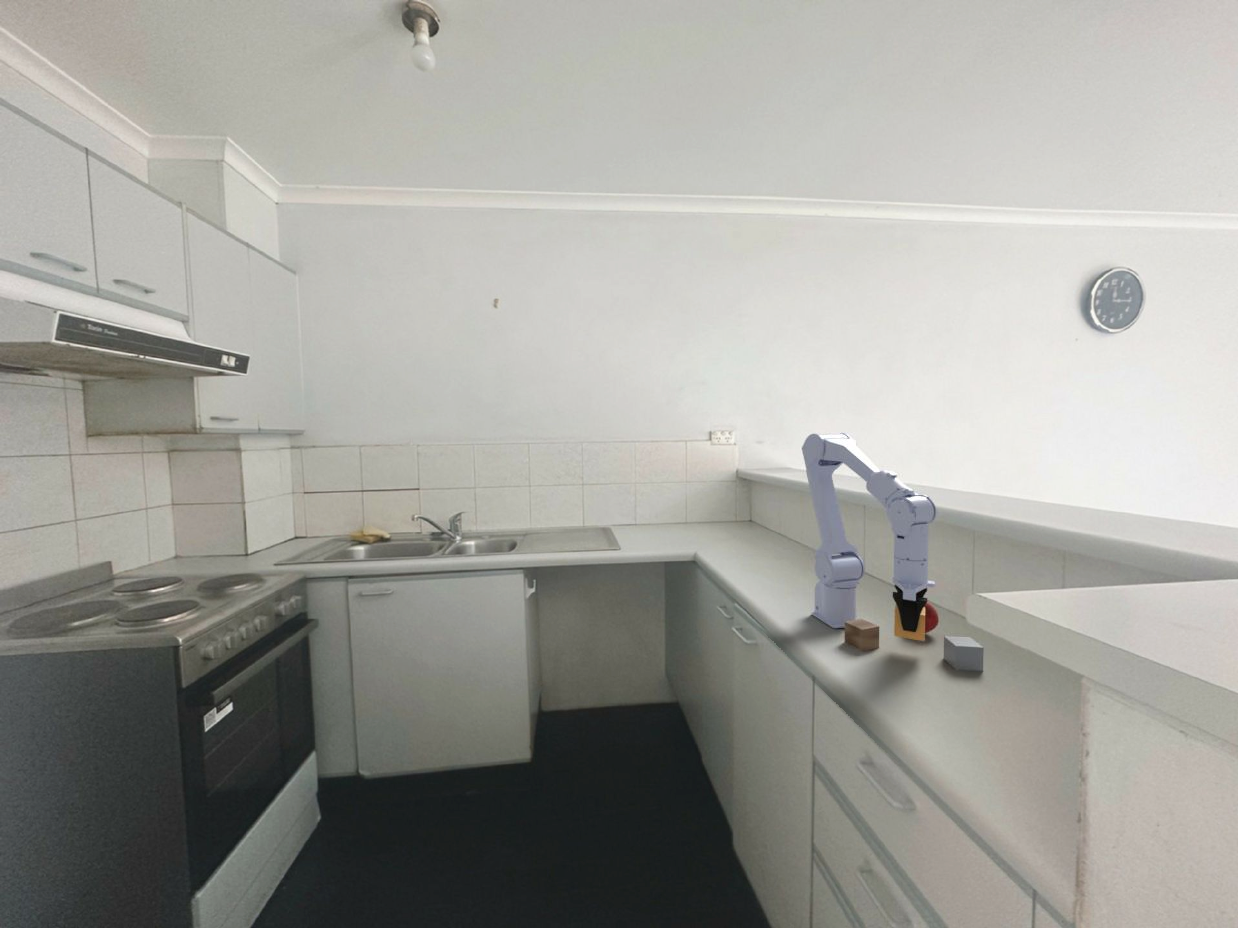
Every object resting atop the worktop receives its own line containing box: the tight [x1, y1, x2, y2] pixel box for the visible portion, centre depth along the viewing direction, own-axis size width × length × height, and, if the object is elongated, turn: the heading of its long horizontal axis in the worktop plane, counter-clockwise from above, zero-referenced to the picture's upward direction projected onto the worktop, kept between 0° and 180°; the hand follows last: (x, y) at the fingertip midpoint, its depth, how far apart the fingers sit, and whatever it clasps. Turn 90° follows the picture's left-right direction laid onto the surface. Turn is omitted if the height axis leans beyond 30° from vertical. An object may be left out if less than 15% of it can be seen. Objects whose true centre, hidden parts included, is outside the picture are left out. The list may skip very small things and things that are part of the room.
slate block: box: [943, 635, 985, 672], centre depth 89 cm, size 4×4×4 cm
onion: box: [923, 597, 939, 634], centre depth 103 cm, size 6×6×8 cm
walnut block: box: [844, 618, 880, 652], centre depth 98 cm, size 4×4×4 cm
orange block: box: [893, 603, 926, 642], centre depth 93 cm, size 5×5×5 cm
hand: (909, 625), depth 93 cm, fingers closed on orange block, 5 cm apart
